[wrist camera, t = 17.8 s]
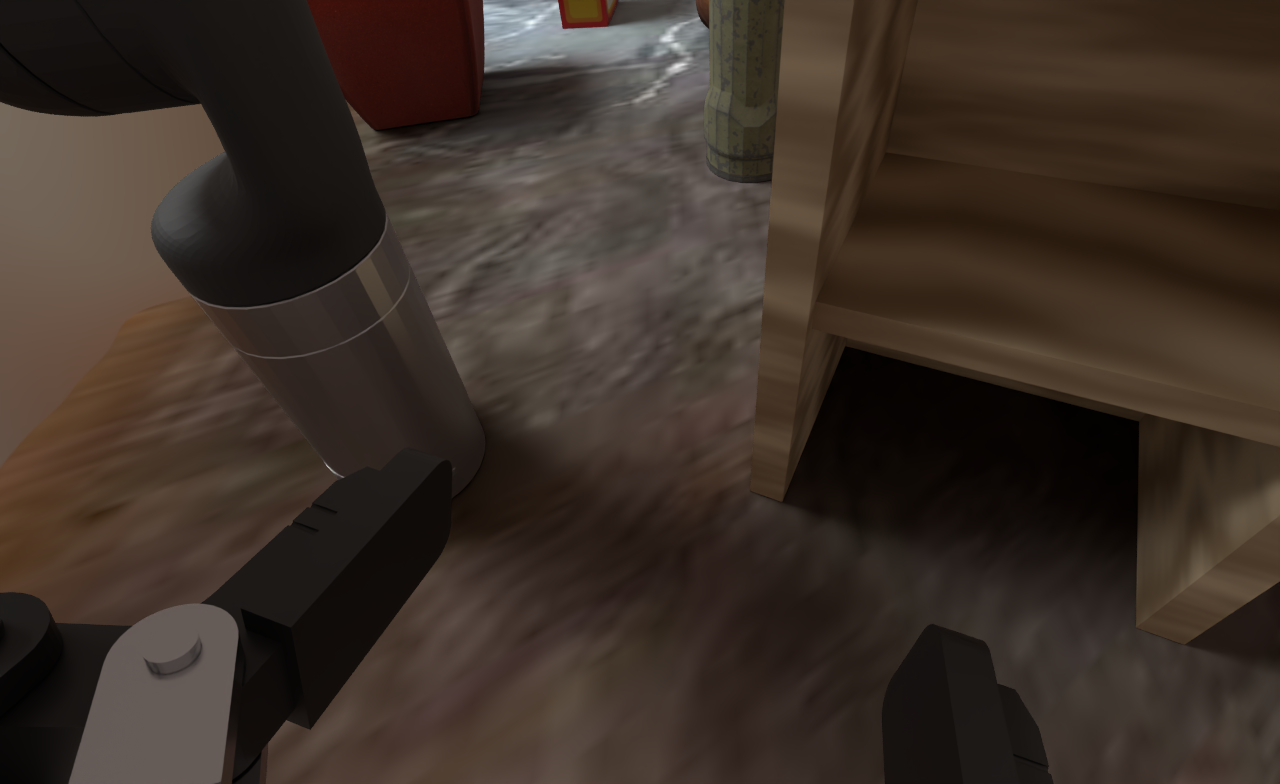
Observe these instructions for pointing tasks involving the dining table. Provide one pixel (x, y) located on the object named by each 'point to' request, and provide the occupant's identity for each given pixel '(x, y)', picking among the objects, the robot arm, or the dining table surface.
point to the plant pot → (405, 57)
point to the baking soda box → (586, 13)
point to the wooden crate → (1047, 244)
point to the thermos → (743, 87)
